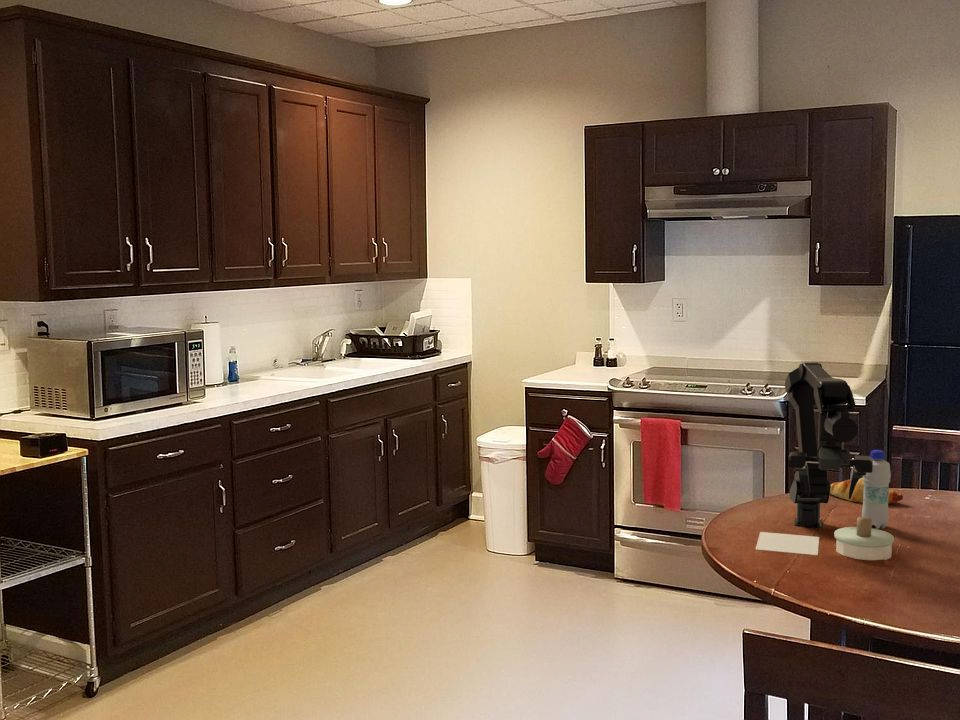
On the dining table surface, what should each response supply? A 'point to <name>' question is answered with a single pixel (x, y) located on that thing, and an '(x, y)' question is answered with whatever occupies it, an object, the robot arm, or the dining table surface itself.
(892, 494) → the croissant
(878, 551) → the bowl
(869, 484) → the bottle
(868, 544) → the lid
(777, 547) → the mat
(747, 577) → the dining table surface
